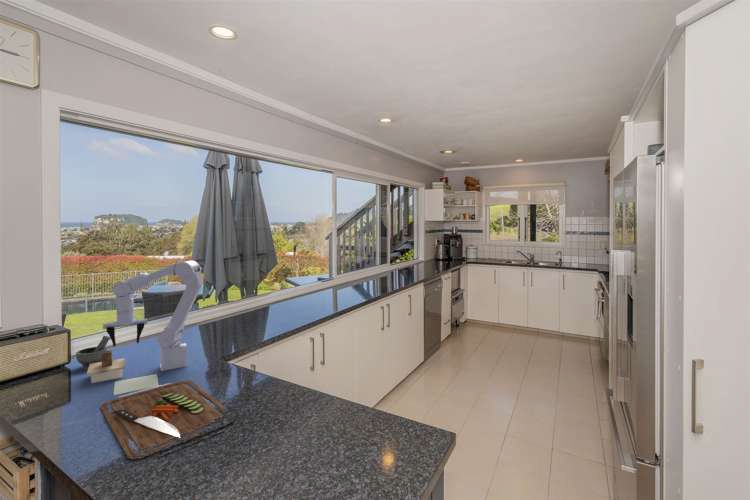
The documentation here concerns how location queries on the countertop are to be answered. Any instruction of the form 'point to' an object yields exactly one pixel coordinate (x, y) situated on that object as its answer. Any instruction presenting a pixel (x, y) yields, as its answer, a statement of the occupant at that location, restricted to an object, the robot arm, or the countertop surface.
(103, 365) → the birch lid
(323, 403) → the countertop surface
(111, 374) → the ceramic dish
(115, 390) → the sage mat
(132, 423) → the chopping board
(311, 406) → the countertop surface
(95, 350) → the mortar and pestle
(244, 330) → the countertop surface
